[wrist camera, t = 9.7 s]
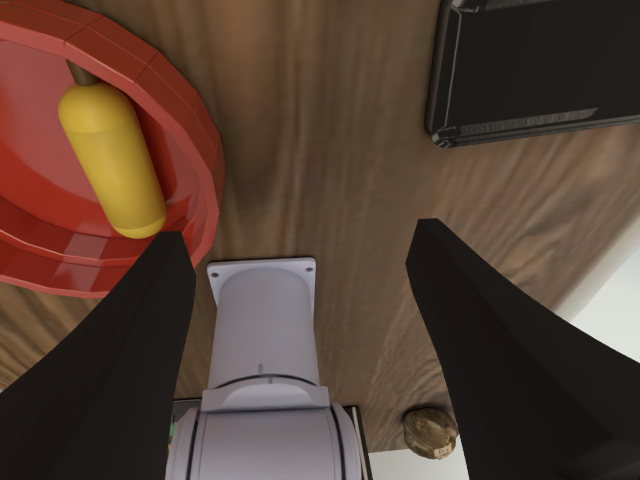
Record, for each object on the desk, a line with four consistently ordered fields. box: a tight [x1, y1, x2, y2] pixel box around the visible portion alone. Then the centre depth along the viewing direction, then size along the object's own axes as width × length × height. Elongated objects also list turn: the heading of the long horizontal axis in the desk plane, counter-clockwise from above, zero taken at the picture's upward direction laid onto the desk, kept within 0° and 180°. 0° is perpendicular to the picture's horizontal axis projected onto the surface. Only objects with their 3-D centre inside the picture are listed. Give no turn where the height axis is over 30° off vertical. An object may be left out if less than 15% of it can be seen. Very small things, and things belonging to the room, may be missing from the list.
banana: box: [58, 59, 168, 239], centre depth 17 cm, size 9×3×3 cm
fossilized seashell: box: [403, 408, 459, 459], centre depth 51 cm, size 8×7×10 cm
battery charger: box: [344, 407, 373, 480], centre depth 45 cm, size 7×4×11 cm, turn 177°
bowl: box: [0, 0, 226, 299], centre depth 17 cm, size 14×14×4 cm
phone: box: [425, 0, 640, 148], centre depth 18 cm, size 8×1×15 cm
